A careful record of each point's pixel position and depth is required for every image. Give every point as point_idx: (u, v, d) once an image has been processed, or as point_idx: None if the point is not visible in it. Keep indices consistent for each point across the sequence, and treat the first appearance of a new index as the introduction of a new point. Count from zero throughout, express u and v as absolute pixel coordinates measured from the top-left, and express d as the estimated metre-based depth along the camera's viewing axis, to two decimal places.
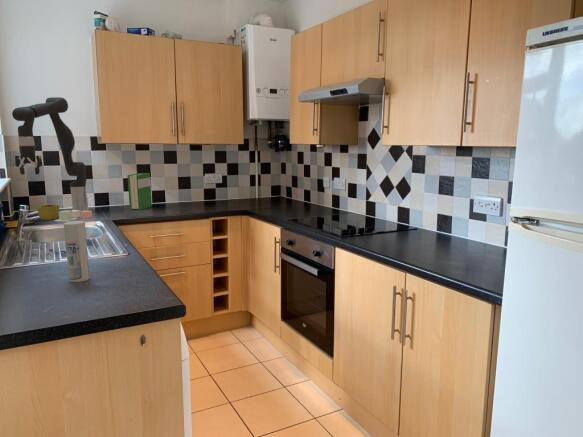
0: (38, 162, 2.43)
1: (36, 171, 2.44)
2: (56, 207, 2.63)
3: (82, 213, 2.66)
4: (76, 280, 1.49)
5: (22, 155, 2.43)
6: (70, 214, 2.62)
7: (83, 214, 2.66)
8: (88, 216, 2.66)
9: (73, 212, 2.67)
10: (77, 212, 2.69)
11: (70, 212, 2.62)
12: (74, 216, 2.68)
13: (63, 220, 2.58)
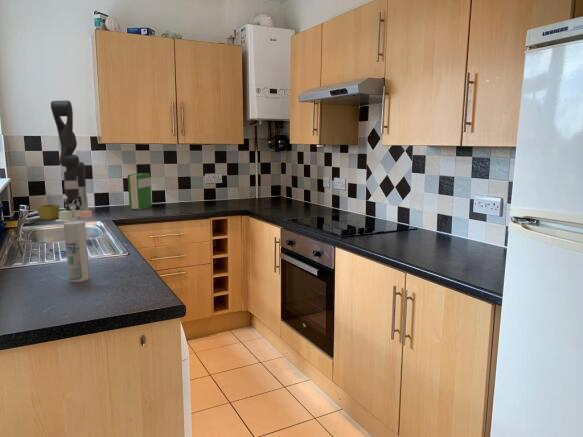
0: (81, 202, 2.75)
1: None
2: (56, 207, 2.63)
3: (82, 213, 2.66)
4: (76, 280, 1.49)
5: (71, 197, 2.66)
6: (70, 214, 2.62)
7: (83, 214, 2.66)
8: (88, 216, 2.66)
9: (73, 212, 2.67)
10: (77, 212, 2.69)
11: (70, 212, 2.62)
12: (74, 216, 2.68)
13: (63, 220, 2.58)
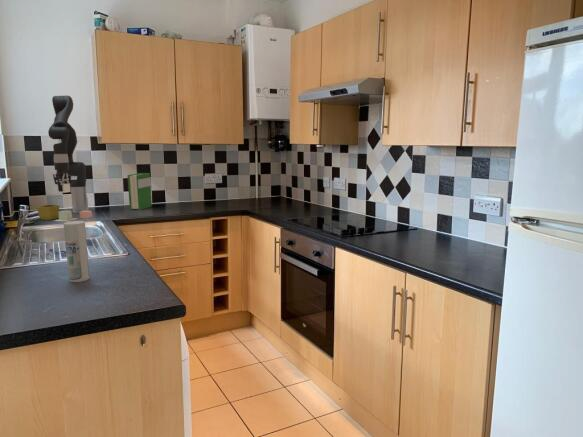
0: (70, 179, 2.63)
1: None
2: (56, 207, 2.63)
3: (82, 213, 2.66)
4: (76, 280, 1.49)
5: (60, 171, 2.54)
6: (70, 214, 2.62)
7: (83, 214, 2.66)
8: (88, 216, 2.66)
9: (62, 185, 2.56)
10: (66, 185, 2.57)
11: (70, 212, 2.62)
12: (63, 189, 2.56)
13: (63, 220, 2.58)
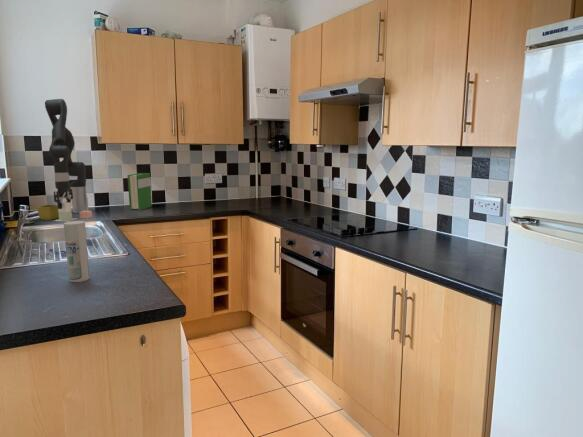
0: (72, 195, 2.65)
1: None
2: (56, 207, 2.63)
3: (82, 213, 2.66)
4: (76, 280, 1.49)
5: (62, 190, 2.56)
6: (70, 214, 2.62)
7: (83, 214, 2.66)
8: (88, 216, 2.66)
9: (63, 204, 2.57)
10: (67, 204, 2.59)
11: (70, 212, 2.62)
12: (64, 208, 2.58)
13: (63, 220, 2.58)
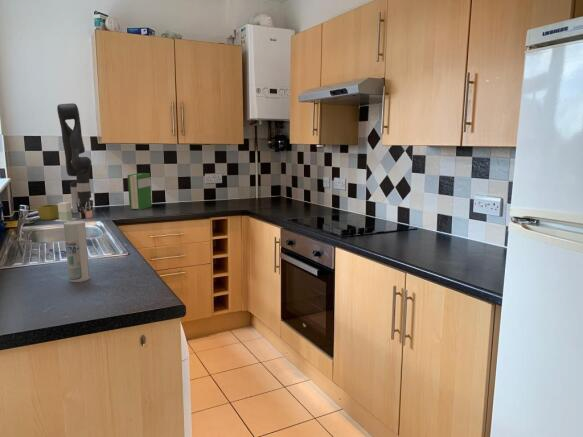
0: (92, 206, 2.73)
1: None
2: (56, 207, 2.63)
3: None
4: (76, 280, 1.49)
5: (83, 200, 2.64)
6: (70, 214, 2.62)
7: None
8: (88, 216, 2.66)
9: (63, 204, 2.57)
10: (67, 204, 2.59)
11: (70, 212, 2.62)
12: (64, 208, 2.58)
13: (63, 220, 2.58)
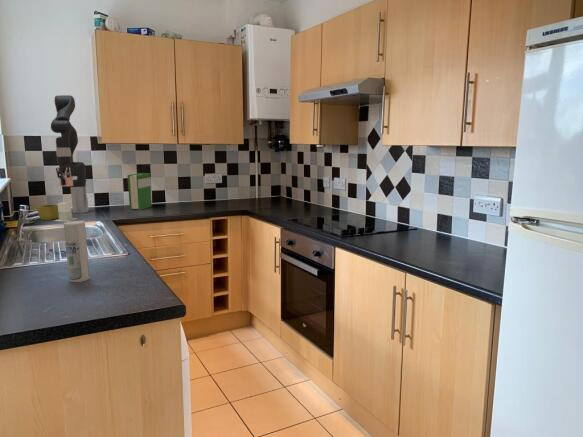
0: (72, 172, 2.63)
1: None
2: (56, 207, 2.63)
3: None
4: (76, 280, 1.49)
5: (63, 165, 2.54)
6: (70, 214, 2.62)
7: None
8: (68, 182, 2.57)
9: (63, 204, 2.57)
10: (67, 204, 2.59)
11: (70, 212, 2.62)
12: (64, 208, 2.58)
13: (63, 220, 2.58)
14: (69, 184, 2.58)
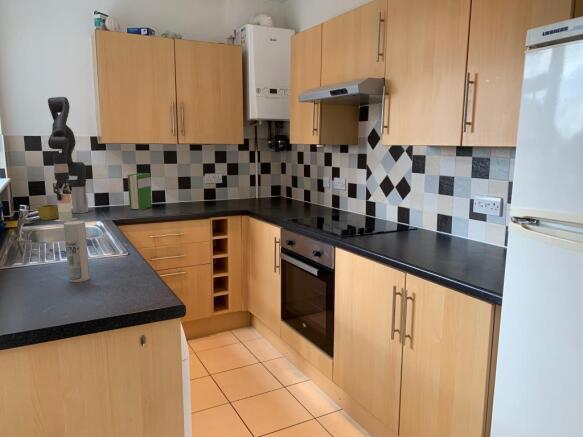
0: (71, 187, 2.64)
1: None
2: (56, 207, 2.63)
3: None
4: (76, 280, 1.49)
5: (61, 181, 2.55)
6: (70, 214, 2.62)
7: None
8: (66, 199, 2.58)
9: (63, 204, 2.57)
10: (67, 204, 2.59)
11: (70, 212, 2.62)
12: (64, 208, 2.58)
13: (63, 220, 2.58)
14: (67, 201, 2.58)
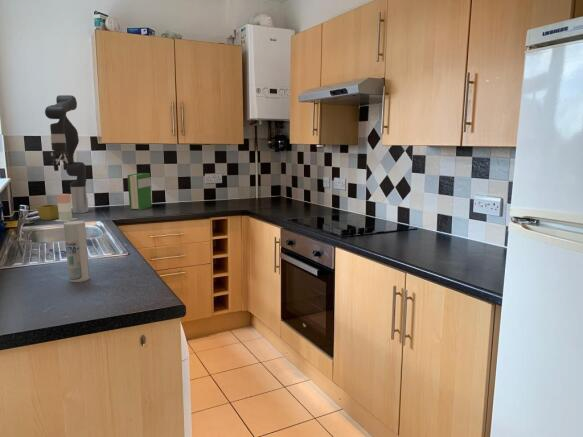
0: (68, 158, 2.61)
1: (67, 166, 2.61)
2: (56, 207, 2.63)
3: (60, 196, 2.57)
4: (76, 280, 1.49)
5: (58, 152, 2.52)
6: (70, 214, 2.62)
7: (60, 197, 2.57)
8: (66, 199, 2.58)
9: (63, 204, 2.57)
10: (67, 204, 2.59)
11: (70, 212, 2.62)
12: (64, 208, 2.58)
13: (63, 220, 2.58)
14: (67, 201, 2.58)
